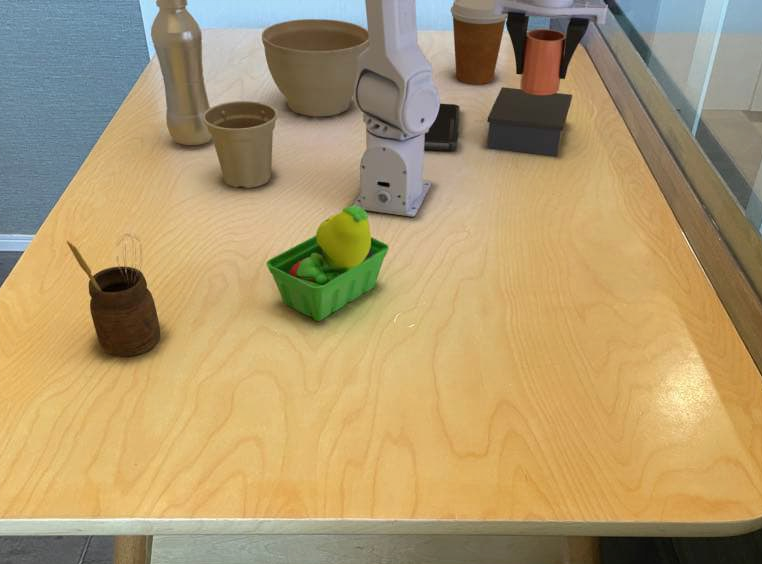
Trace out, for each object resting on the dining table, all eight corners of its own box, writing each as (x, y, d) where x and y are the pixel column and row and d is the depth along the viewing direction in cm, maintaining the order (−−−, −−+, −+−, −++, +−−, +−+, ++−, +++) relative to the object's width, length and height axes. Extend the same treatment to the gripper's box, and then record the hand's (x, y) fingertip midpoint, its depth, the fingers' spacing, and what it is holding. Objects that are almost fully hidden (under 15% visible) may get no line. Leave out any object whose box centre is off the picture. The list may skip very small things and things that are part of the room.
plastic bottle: (207, 152, 114) (185, -2, 101) (162, 148, 115) (134, -6, 102) (223, 134, 119) (204, -15, 106) (180, 130, 120) (156, -19, 107)
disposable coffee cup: (437, 72, 140) (440, -3, 132) (485, 65, 143) (491, -9, 136) (463, 91, 134) (468, 12, 126) (513, 83, 137) (521, 6, 129)
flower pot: (196, 184, 106) (186, 119, 101) (239, 158, 113) (232, 95, 107) (255, 201, 103) (248, 134, 98) (296, 172, 110) (292, 109, 104)
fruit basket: (339, 262, 92) (336, 168, 85) (400, 290, 88) (402, 193, 81) (266, 305, 85) (256, 206, 78) (328, 337, 81) (323, 236, 74)
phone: (401, 141, 115) (409, 101, 126) (401, 148, 116) (409, 109, 127) (457, 143, 115) (460, 104, 126) (457, 151, 115) (460, 111, 127)
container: (558, 157, 115) (563, 126, 112) (484, 148, 116) (487, 117, 114) (567, 124, 124) (572, 94, 121) (498, 116, 126) (501, 86, 123)
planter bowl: (360, 130, 121) (359, 54, 114) (255, 122, 123) (247, 46, 115) (379, 92, 133) (379, 21, 126) (283, 85, 135) (278, 14, 127)
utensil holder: (173, 341, 80) (151, 232, 72) (115, 368, 77) (86, 256, 69) (142, 316, 84) (118, 209, 76) (85, 340, 80) (54, 231, 72)
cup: (556, 97, 110) (564, 43, 106) (517, 92, 111) (523, 39, 107) (560, 84, 114) (568, 31, 109) (523, 80, 115) (529, 27, 110)
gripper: (616, -39, 104) (597, 70, 113) (503, -48, 107) (494, 59, 116) (612, -26, 99) (593, 87, 108) (494, -35, 102) (485, 76, 110)
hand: (541, 74), depth 111 cm, fingers closed on cup, 5 cm apart
